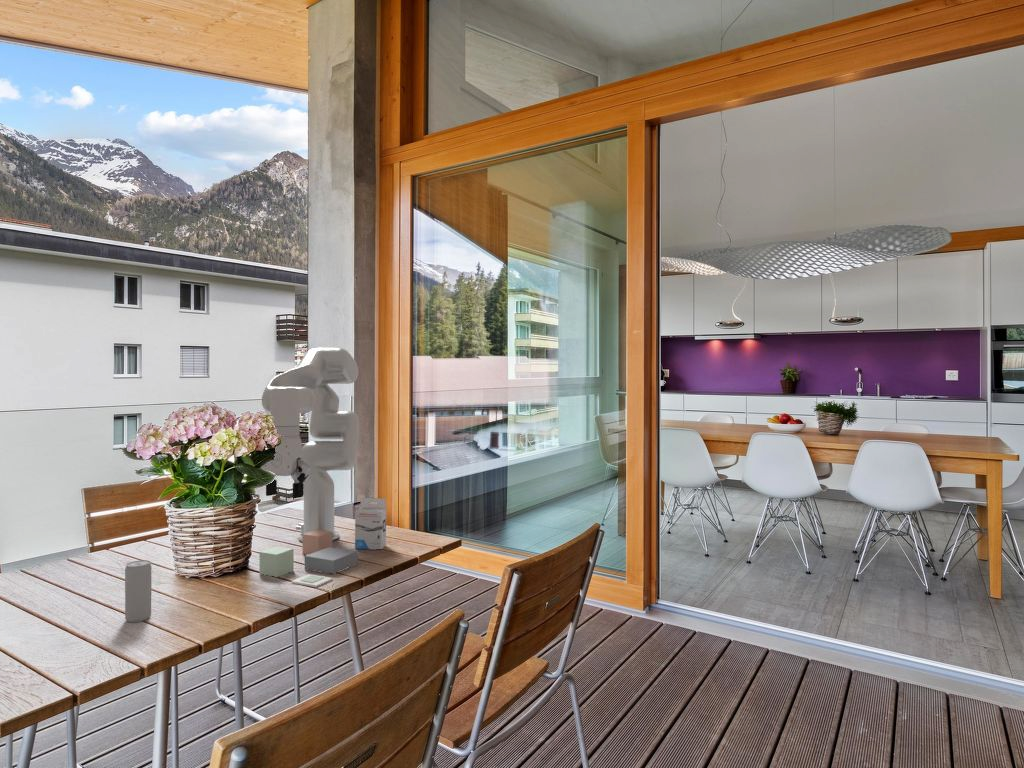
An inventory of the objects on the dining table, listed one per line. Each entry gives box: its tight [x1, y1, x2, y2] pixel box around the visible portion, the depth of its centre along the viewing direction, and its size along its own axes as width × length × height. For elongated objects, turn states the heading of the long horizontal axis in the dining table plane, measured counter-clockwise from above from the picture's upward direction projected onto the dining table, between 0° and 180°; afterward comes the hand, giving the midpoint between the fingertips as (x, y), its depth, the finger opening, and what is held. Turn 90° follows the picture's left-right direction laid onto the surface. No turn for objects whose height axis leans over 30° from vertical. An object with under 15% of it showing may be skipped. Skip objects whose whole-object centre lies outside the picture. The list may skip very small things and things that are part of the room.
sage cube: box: [259, 546, 295, 578], centre depth 161 cm, size 6×6×6 cm
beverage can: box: [124, 559, 152, 624], centre depth 129 cm, size 5×5×12 cm
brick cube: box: [302, 530, 333, 555], centre depth 180 cm, size 6×6×6 cm
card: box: [291, 573, 333, 588], centre depth 154 cm, size 8×6×1 cm
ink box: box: [354, 497, 387, 550], centre depth 185 cm, size 9×5×15 cm, turn 84°
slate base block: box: [304, 546, 359, 574], centre depth 166 cm, size 10×10×4 cm
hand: (284, 496), depth 162 cm, fingers open, 9 cm apart
